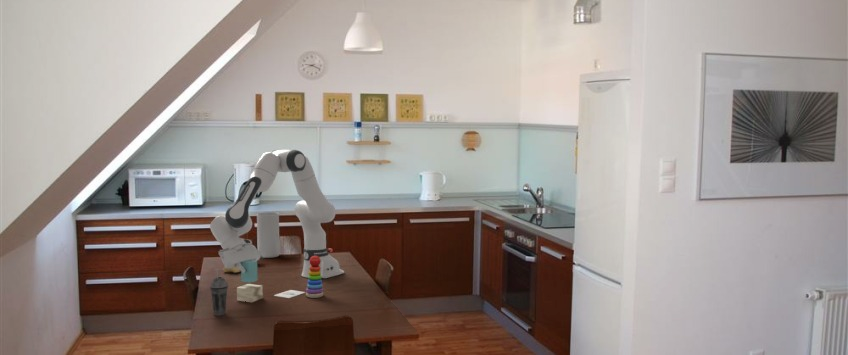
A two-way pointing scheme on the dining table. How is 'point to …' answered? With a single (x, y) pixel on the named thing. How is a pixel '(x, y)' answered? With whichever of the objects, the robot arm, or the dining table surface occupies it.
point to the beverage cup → (219, 294)
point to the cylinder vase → (268, 234)
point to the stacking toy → (314, 279)
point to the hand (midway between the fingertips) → (250, 270)
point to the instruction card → (289, 294)
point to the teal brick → (249, 271)
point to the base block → (249, 292)
